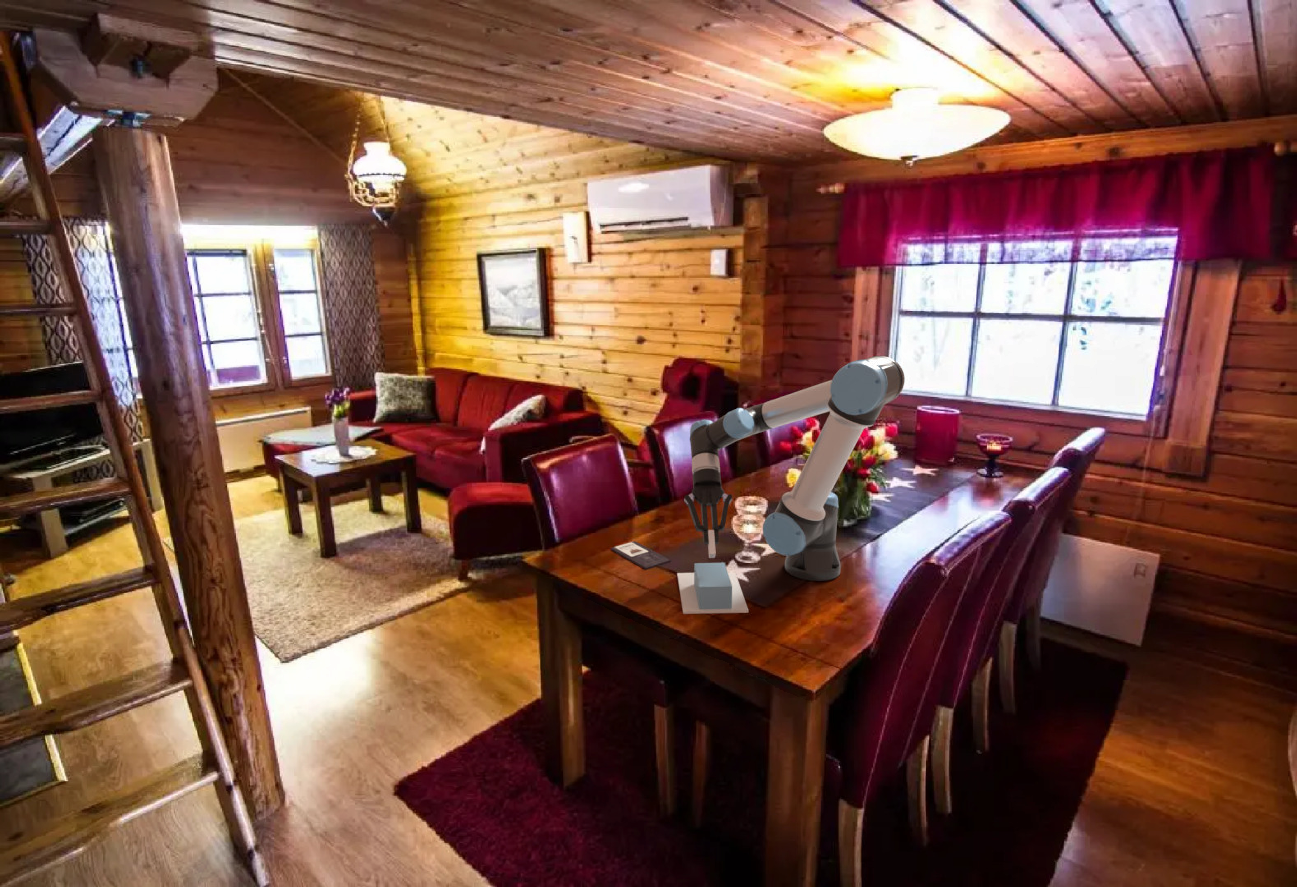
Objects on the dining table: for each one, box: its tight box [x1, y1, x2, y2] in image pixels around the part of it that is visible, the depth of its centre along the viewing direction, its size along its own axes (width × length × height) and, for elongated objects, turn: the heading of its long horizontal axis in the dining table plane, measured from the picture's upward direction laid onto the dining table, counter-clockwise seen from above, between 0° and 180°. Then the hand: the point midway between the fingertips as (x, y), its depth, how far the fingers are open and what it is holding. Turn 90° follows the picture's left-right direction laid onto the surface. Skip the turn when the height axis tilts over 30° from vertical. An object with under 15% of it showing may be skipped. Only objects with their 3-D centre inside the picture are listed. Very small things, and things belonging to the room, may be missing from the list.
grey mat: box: [676, 571, 749, 615], centre depth 177 cm, size 16×22×1 cm
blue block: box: [693, 562, 732, 609], centre depth 173 cm, size 8×6×14 cm
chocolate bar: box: [610, 540, 672, 571], centre depth 200 cm, size 9×1×18 cm
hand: (712, 555), depth 171 cm, fingers closed
